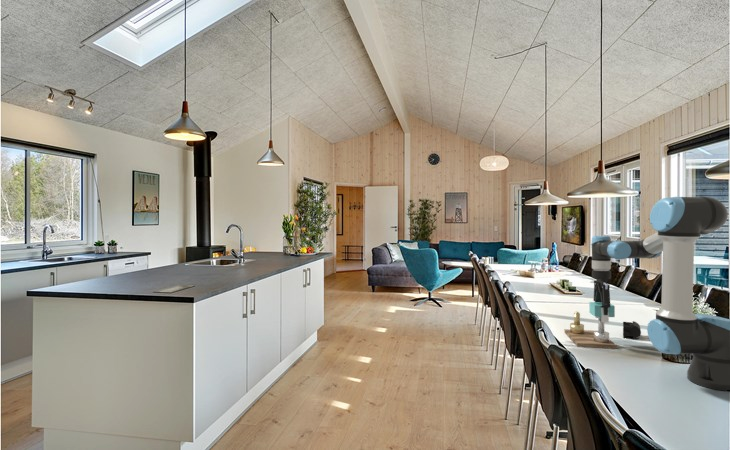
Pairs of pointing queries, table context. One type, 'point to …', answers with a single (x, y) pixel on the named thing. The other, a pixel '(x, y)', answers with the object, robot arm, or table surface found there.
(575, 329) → the hub
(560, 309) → the table surface
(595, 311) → the collar
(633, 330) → the end cap
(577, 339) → the board
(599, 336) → the stand rod
